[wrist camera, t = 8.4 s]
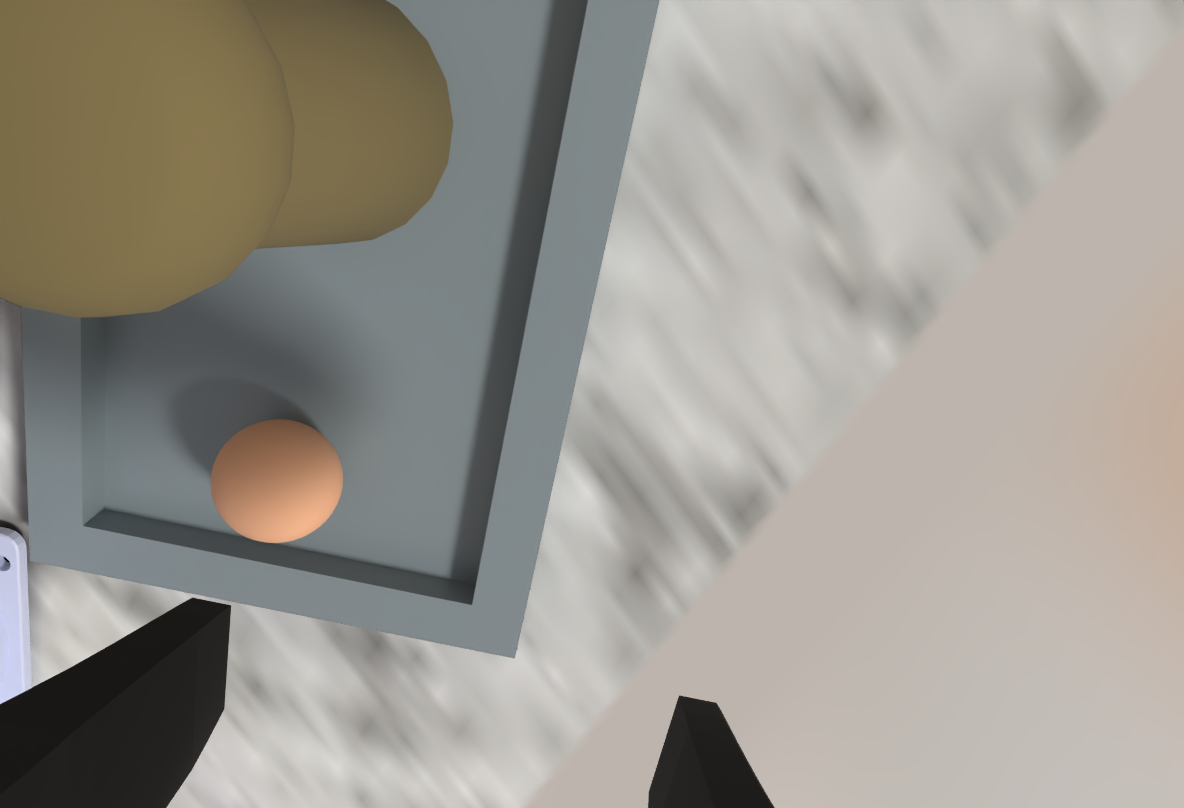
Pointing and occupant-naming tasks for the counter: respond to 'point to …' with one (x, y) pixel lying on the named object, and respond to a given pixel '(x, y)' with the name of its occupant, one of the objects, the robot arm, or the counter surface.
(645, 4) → the tray
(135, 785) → the robot arm
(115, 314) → the pepper shaker
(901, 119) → the counter surface
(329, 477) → the ball
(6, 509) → the counter surface
